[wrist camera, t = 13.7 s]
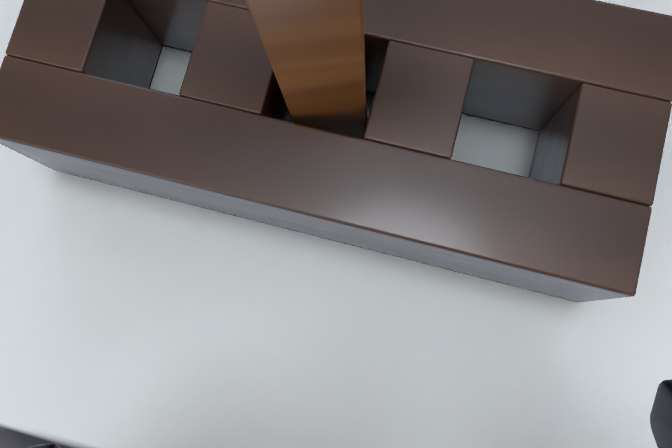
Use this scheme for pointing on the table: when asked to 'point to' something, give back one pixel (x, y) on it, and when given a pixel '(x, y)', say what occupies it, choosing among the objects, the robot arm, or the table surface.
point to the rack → (370, 127)
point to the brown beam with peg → (317, 60)
